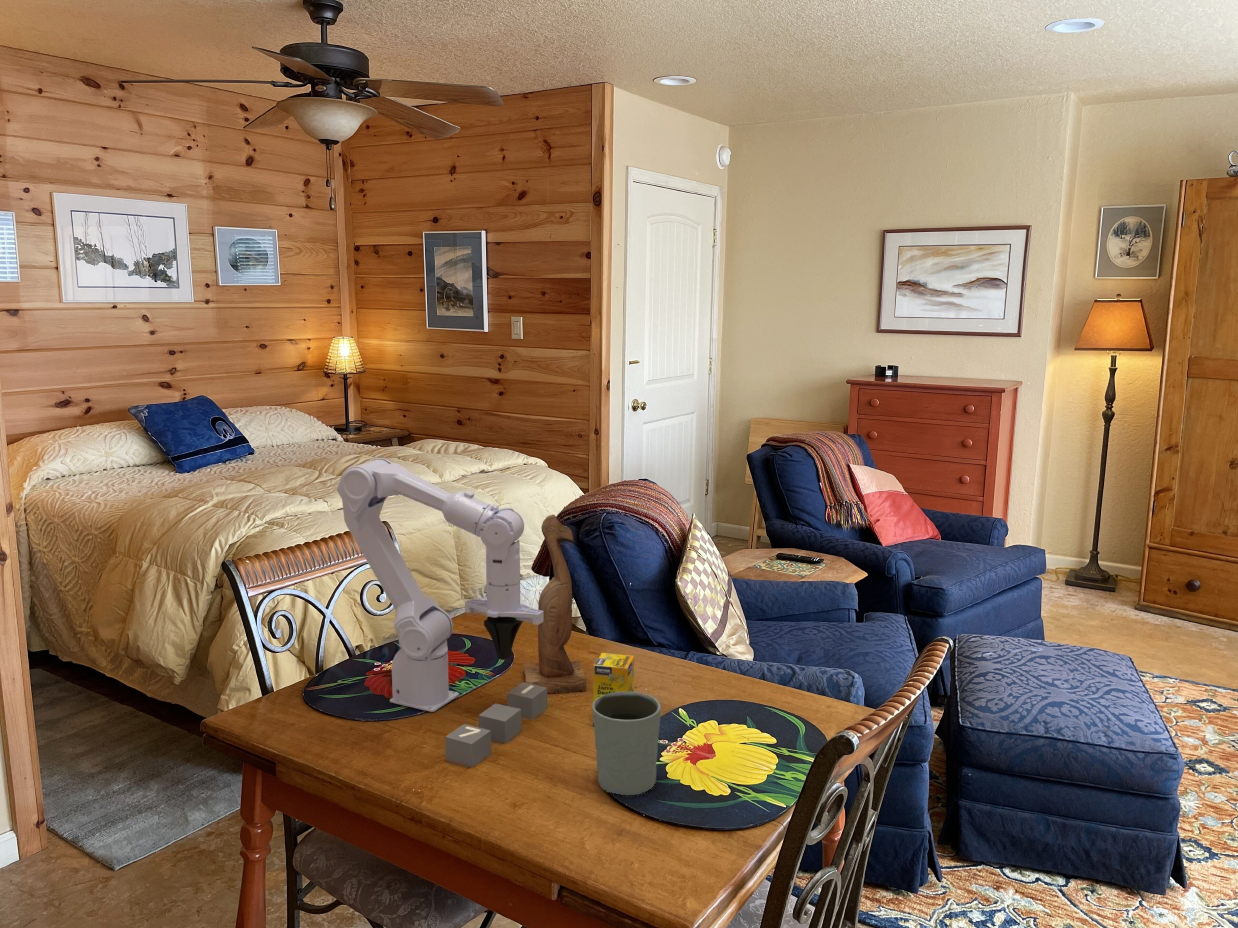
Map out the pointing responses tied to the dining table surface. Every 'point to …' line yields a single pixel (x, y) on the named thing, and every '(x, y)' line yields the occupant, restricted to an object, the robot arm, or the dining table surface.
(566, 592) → the bird sculpture
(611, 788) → the grey cup
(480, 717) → the plain block
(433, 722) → the dining table surface
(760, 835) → the dining table surface
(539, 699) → the block one
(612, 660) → the supplement box
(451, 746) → the block seven
